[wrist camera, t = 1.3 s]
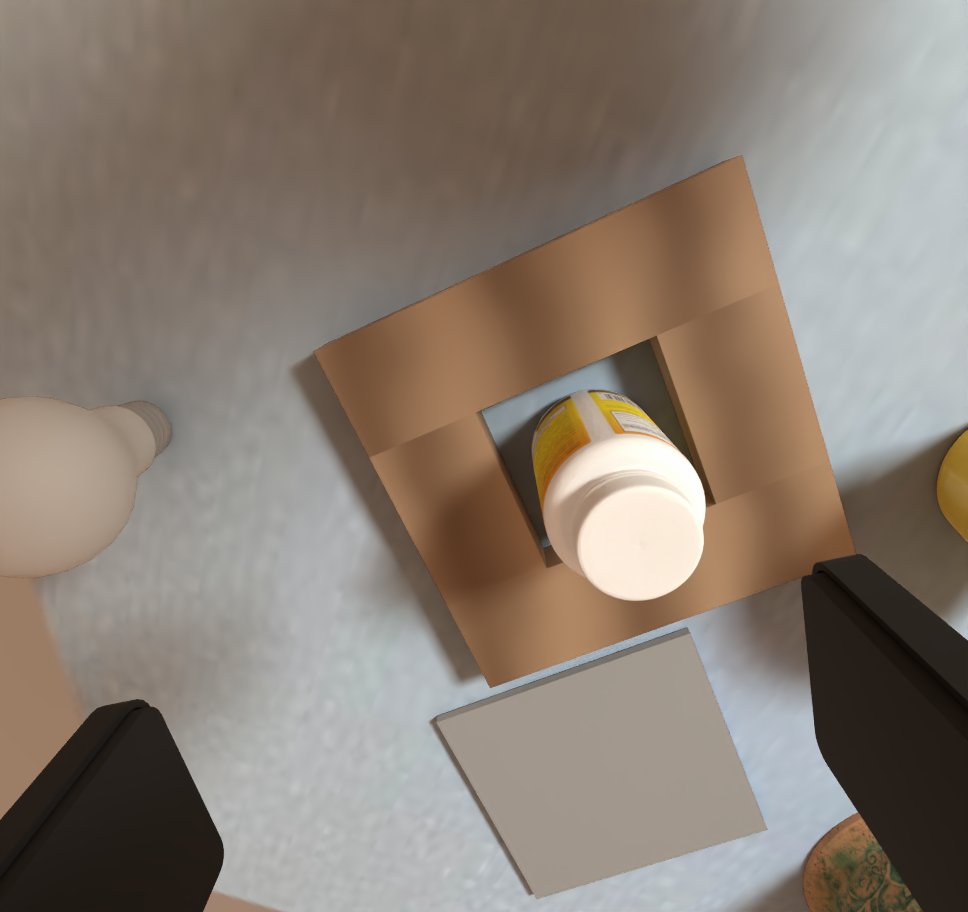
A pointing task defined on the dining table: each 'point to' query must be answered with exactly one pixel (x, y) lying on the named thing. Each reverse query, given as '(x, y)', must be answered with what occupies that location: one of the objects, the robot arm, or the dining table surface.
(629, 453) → the supplement bottle
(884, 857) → the mug
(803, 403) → the wooden square frame
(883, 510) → the dining table surface
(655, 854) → the grey mat
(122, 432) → the lightbulb
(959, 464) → the plant pot
